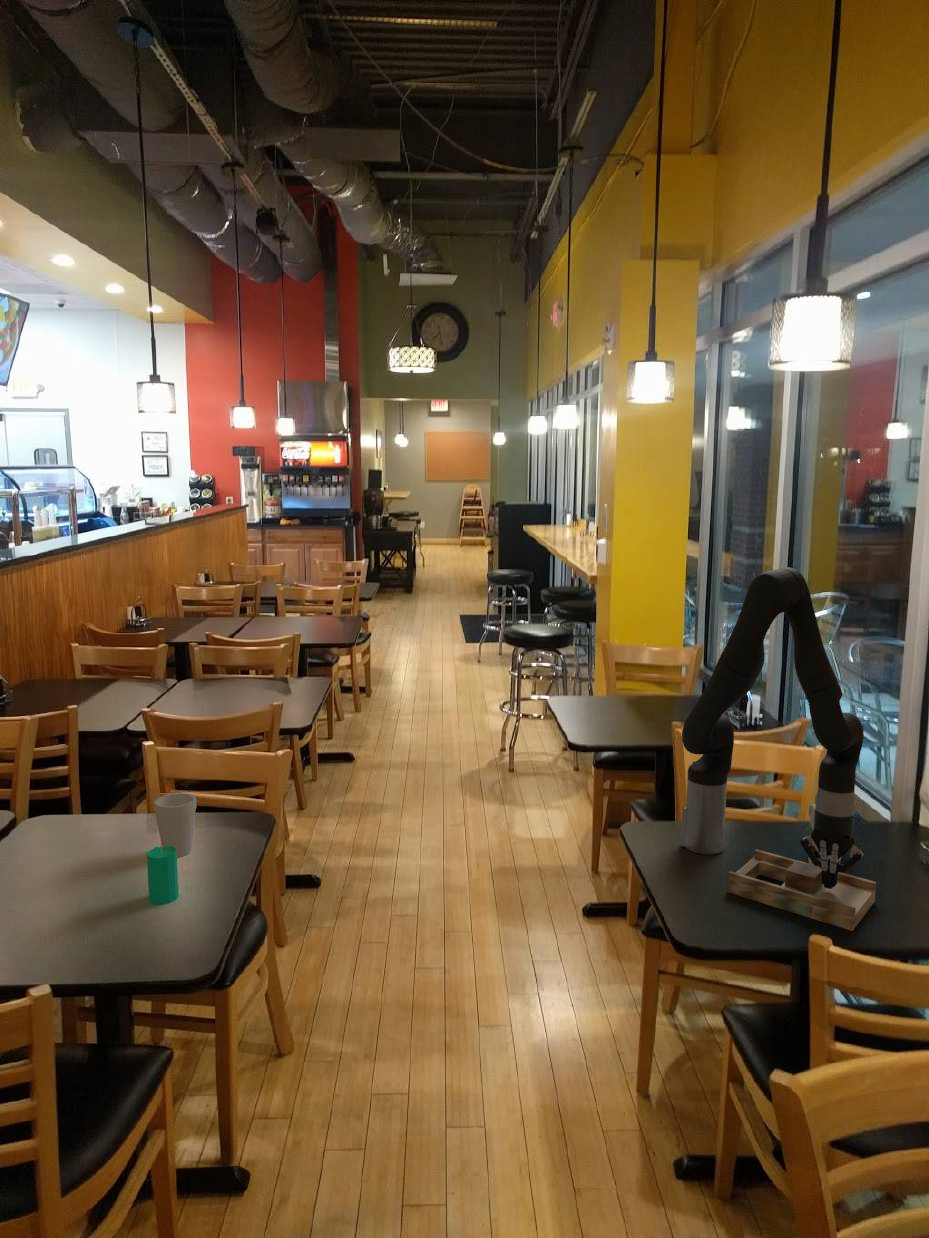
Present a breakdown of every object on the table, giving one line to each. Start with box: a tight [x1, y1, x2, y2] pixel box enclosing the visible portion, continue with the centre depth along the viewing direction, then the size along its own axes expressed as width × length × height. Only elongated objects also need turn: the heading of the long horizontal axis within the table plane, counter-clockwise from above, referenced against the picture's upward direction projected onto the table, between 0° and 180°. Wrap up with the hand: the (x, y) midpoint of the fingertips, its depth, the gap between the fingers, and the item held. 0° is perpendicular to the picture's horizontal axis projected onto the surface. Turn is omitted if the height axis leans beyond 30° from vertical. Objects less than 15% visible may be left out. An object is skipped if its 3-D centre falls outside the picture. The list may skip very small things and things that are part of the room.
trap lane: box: [726, 849, 877, 932], centre depth 190 cm, size 26×16×4 cm, turn 51°
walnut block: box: [785, 861, 822, 894], centre depth 189 cm, size 6×6×4 cm
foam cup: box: [153, 792, 197, 859], centre depth 209 cm, size 10×9×13 cm
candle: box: [146, 843, 179, 905], centre depth 186 cm, size 6×6×12 cm
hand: (828, 887), depth 186 cm, fingers closed
